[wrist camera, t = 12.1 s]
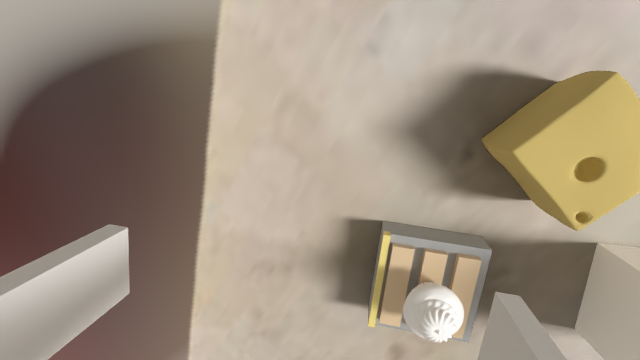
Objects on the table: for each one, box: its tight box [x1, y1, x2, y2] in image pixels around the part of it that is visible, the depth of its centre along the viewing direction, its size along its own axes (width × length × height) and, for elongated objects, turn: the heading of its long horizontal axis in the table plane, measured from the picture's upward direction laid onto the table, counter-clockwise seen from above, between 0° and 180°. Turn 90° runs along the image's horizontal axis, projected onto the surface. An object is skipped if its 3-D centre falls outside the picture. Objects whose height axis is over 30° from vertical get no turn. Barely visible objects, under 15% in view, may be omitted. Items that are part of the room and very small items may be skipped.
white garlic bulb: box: [403, 282, 464, 343], centre depth 37 cm, size 6×6×7 cm
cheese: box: [481, 71, 640, 231], centre depth 35 cm, size 10×11×10 cm
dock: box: [368, 221, 492, 343], centre depth 43 cm, size 12×12×5 cm
